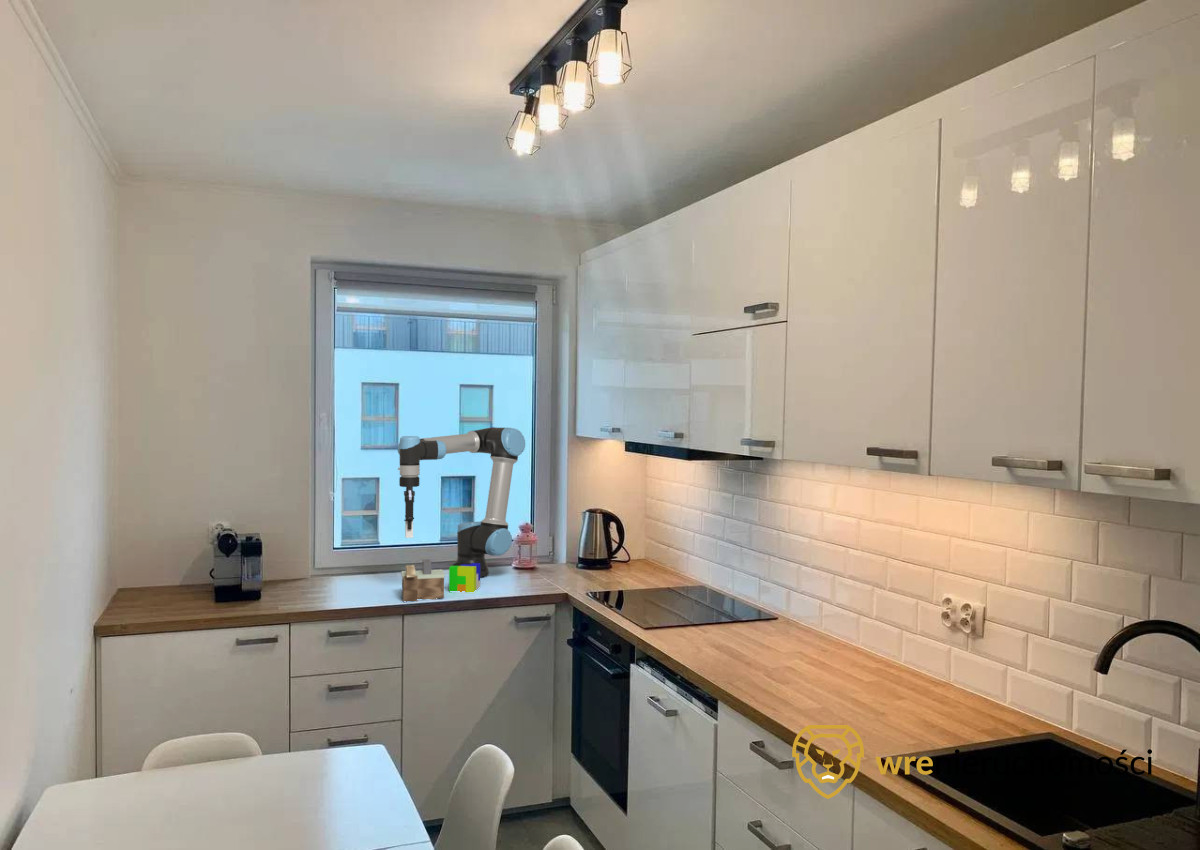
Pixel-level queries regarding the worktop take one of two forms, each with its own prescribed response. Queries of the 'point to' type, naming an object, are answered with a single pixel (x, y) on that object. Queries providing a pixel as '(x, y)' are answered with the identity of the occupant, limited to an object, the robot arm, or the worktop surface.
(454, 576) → the puzzle toy
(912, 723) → the worktop surface
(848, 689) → the worktop surface
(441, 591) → the box
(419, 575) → the lid
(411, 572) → the light wooden block
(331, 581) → the worktop surface
